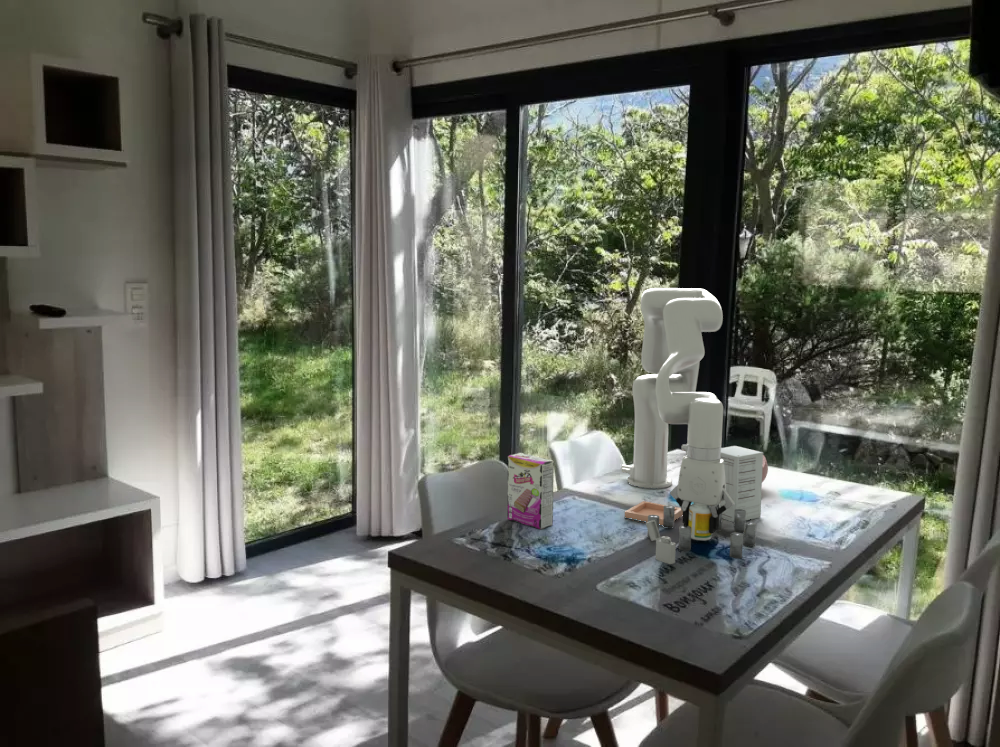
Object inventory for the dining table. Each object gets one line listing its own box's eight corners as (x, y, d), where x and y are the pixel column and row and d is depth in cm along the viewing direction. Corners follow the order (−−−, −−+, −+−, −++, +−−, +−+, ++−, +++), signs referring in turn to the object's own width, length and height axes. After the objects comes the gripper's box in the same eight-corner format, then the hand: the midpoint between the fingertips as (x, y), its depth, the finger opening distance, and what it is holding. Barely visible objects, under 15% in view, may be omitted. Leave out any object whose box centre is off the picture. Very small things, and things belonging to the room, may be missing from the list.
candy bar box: (506, 520, 204) (506, 455, 201) (519, 515, 207) (520, 452, 205) (540, 530, 196) (541, 463, 194) (553, 525, 200) (554, 459, 197)
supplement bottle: (683, 536, 190) (684, 496, 189) (697, 531, 194) (699, 491, 192) (702, 542, 186) (704, 502, 185) (716, 537, 190) (718, 497, 188)
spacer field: (639, 541, 189) (640, 520, 188) (677, 517, 207) (677, 497, 206) (736, 562, 176) (737, 539, 176) (767, 534, 194) (768, 514, 193)
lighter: (675, 562, 176) (676, 526, 175) (670, 564, 175) (671, 528, 174) (649, 553, 181) (650, 518, 180) (644, 555, 180) (645, 520, 179)
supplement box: (761, 518, 207) (765, 452, 204) (735, 523, 202) (738, 456, 199) (733, 507, 215) (736, 444, 212) (707, 513, 210) (709, 448, 208)
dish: (624, 518, 205) (624, 511, 205) (643, 507, 214) (643, 501, 214) (665, 527, 199) (666, 519, 199) (683, 515, 208) (683, 508, 208)
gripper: (661, 450, 189) (658, 526, 191) (735, 462, 179) (731, 541, 182) (674, 444, 195) (671, 517, 198) (746, 455, 185) (742, 532, 188)
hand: (700, 528), depth 190 cm, fingers closed on supplement bottle, 5 cm apart
